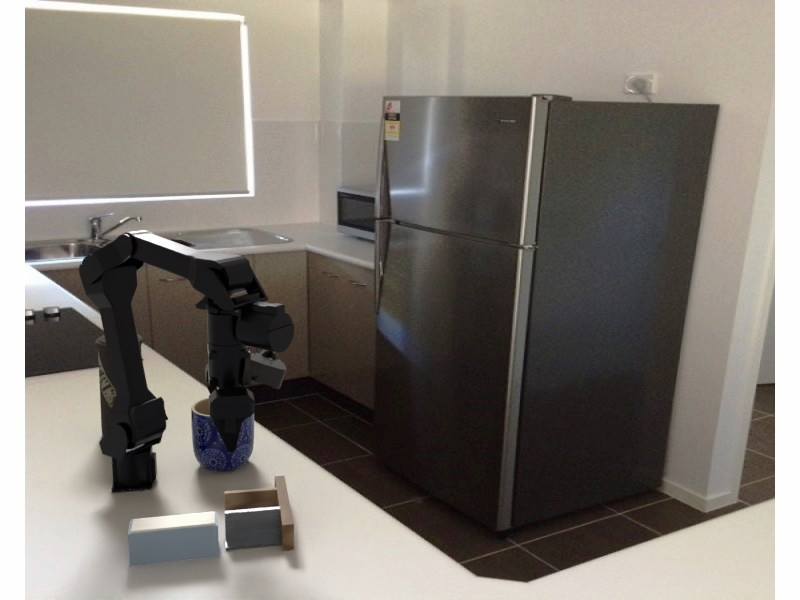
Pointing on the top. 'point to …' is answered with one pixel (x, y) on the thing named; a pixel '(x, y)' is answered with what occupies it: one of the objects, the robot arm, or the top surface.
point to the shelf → (266, 499)
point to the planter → (218, 441)
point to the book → (173, 538)
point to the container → (106, 382)
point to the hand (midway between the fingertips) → (229, 439)
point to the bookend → (252, 528)
